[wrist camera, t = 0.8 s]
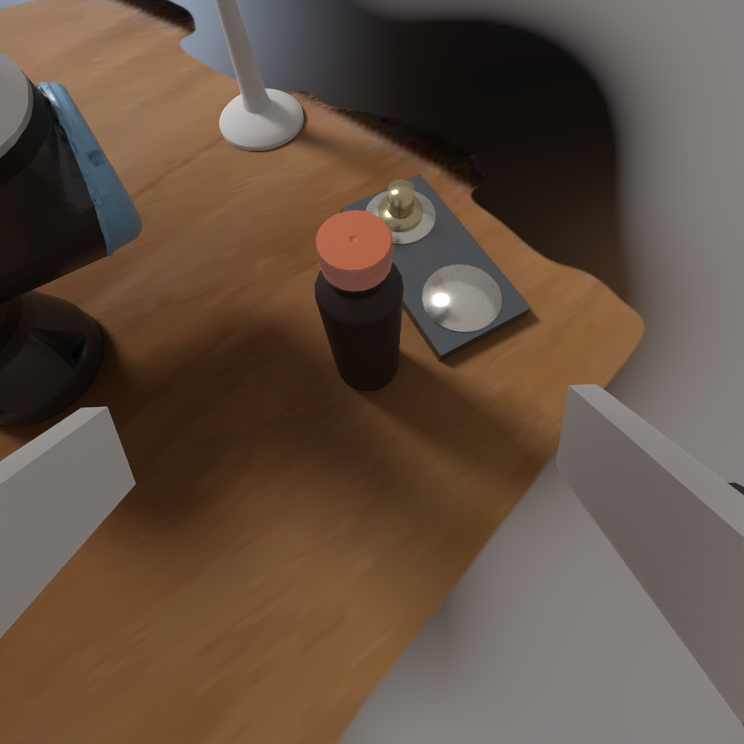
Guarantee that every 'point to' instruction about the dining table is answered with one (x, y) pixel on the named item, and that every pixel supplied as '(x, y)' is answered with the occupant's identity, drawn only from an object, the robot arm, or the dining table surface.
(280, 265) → the dining table surface
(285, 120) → the candlestick
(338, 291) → the vinegar
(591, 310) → the dining table surface
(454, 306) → the plate
